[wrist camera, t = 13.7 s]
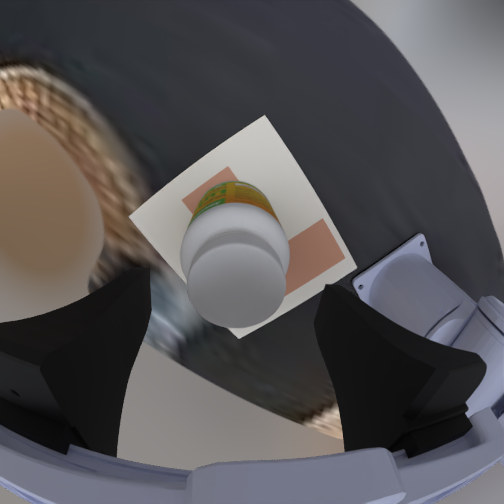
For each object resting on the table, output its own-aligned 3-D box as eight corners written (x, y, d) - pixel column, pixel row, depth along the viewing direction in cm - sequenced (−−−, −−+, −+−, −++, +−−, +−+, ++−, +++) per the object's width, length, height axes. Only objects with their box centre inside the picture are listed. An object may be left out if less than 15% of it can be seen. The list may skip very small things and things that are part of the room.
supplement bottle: (221, 164, 18) (211, 196, 10) (286, 205, 20) (330, 269, 11) (182, 229, 20) (148, 307, 11) (245, 264, 22) (255, 356, 13)
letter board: (354, 264, 23) (357, 267, 22) (238, 334, 25) (238, 339, 25) (263, 115, 18) (265, 115, 17) (131, 214, 20) (128, 217, 19)
